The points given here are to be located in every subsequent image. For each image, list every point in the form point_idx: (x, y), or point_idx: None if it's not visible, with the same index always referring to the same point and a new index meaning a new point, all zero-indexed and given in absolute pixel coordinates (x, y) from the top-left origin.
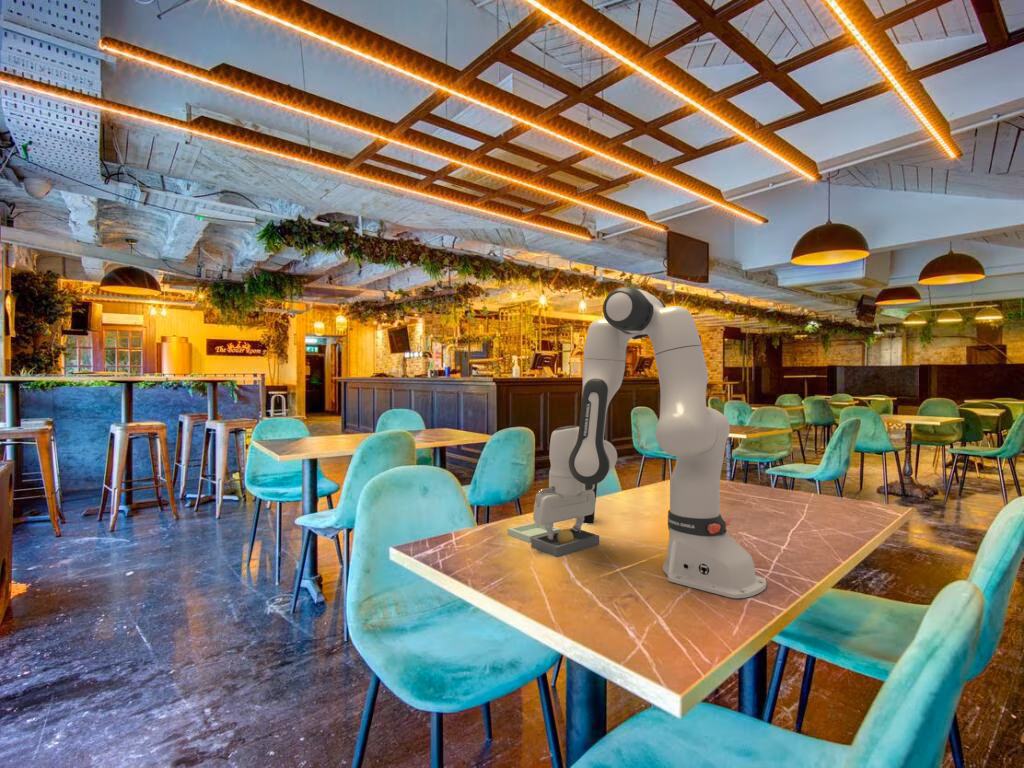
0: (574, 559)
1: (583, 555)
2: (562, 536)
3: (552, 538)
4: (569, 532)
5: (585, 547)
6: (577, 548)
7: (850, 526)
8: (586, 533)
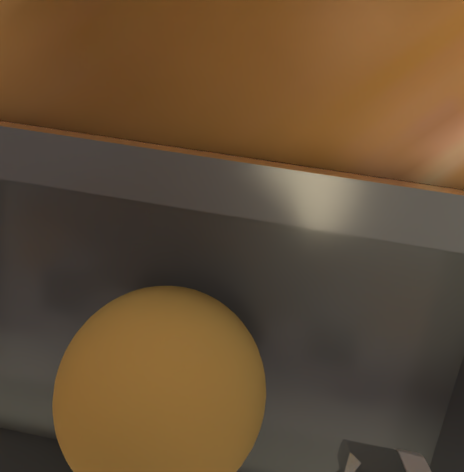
0: (421, 57)
1: (249, 64)
2: (251, 398)
3: (412, 455)
4: (138, 372)
5: (106, 137)
6: (229, 156)
7: None
8: None
